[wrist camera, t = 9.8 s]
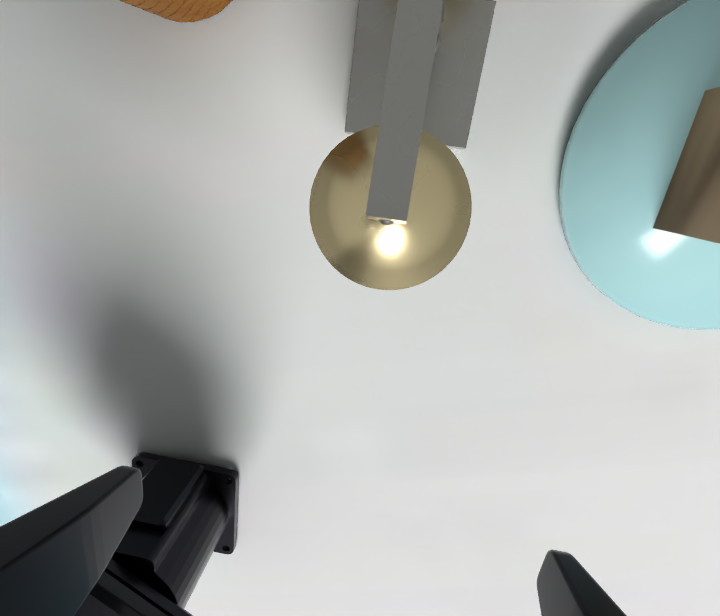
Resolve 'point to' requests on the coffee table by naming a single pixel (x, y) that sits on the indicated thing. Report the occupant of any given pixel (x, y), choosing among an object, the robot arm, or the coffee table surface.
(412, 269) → the balance
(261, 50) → the coffee table surface
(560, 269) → the coffee table surface
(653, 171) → the teal dish
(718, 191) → the tan block
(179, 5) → the disposable coffee cup
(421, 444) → the coffee table surface
